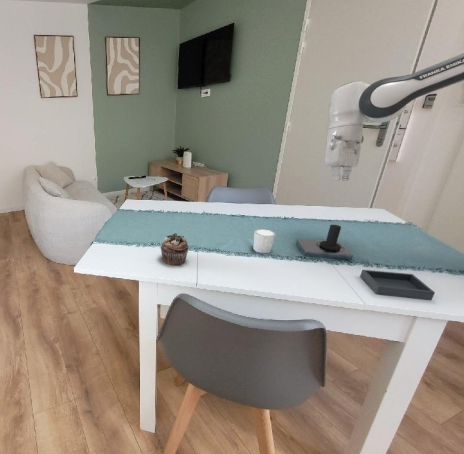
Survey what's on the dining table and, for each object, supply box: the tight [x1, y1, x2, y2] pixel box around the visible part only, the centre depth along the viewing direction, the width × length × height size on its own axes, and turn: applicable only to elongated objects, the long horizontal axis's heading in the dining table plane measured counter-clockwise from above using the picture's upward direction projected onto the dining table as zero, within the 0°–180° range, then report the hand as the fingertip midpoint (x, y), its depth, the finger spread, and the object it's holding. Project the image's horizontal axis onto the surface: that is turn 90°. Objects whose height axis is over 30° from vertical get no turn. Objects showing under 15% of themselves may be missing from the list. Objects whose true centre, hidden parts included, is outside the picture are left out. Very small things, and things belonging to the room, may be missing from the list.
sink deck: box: [295, 238, 354, 261], centre depth 104 cm, size 14×10×2 cm
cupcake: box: [160, 233, 189, 266], centre depth 102 cm, size 10×10×10 cm
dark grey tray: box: [359, 269, 436, 301], centre depth 83 cm, size 12×9×2 cm
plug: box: [320, 224, 342, 250], centre depth 102 cm, size 6×6×10 cm
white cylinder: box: [252, 228, 276, 254], centre depth 107 cm, size 7×7×7 cm
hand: (340, 180), depth 95 cm, fingers open, 8 cm apart
